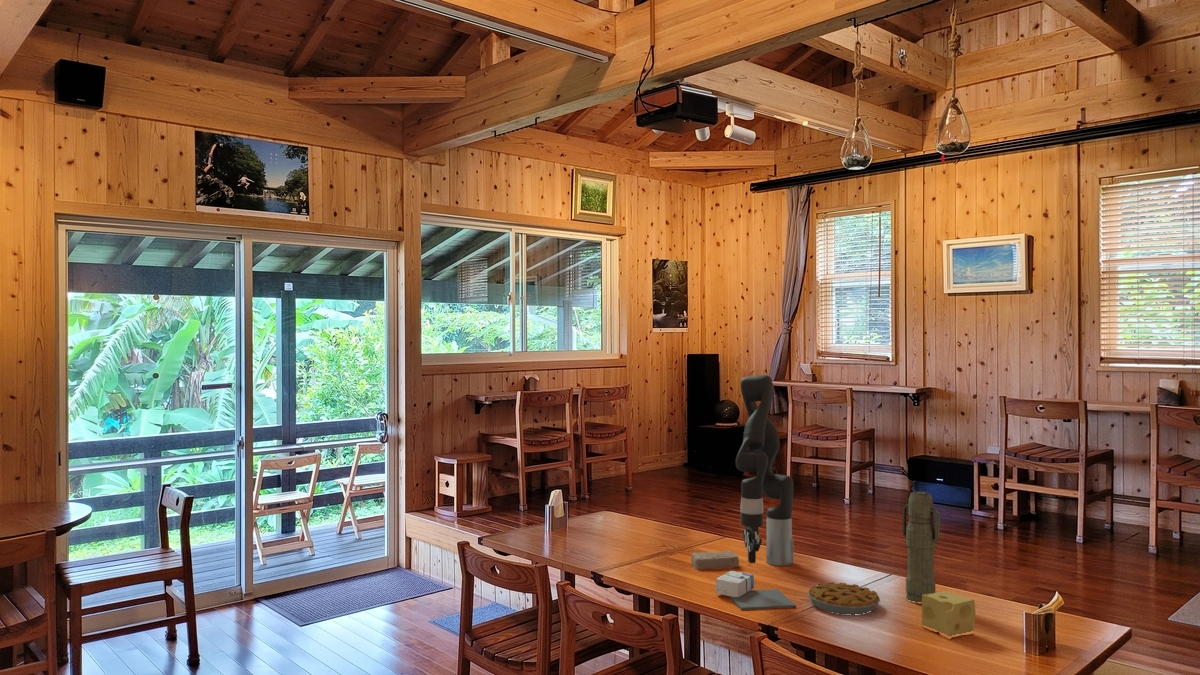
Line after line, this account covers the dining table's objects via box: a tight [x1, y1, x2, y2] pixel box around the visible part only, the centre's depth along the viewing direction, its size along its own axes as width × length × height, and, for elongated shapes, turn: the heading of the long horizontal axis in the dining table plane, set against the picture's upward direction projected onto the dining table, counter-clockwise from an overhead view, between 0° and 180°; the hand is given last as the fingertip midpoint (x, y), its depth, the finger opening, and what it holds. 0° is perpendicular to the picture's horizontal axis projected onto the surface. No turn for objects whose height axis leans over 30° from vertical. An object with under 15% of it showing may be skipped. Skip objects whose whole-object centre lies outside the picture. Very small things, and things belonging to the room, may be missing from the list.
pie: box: [807, 582, 881, 616], centre depth 250 cm, size 22×22×5 cm
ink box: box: [715, 570, 755, 598], centre depth 260 cm, size 9×5×12 cm
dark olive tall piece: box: [901, 490, 941, 602], centre depth 255 cm, size 9×12×35 cm
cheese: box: [921, 590, 976, 636], centre depth 228 cm, size 10×11×10 cm
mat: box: [727, 588, 797, 611], centre depth 254 cm, size 18×16×1 cm
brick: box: [690, 550, 740, 570], centre depth 293 cm, size 17×8×5 cm, turn 97°
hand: (751, 562), depth 263 cm, fingers closed
